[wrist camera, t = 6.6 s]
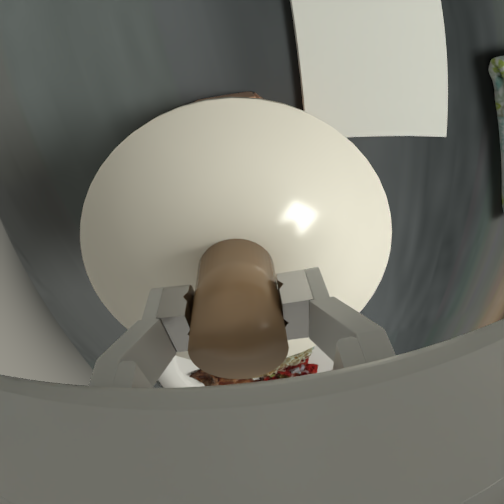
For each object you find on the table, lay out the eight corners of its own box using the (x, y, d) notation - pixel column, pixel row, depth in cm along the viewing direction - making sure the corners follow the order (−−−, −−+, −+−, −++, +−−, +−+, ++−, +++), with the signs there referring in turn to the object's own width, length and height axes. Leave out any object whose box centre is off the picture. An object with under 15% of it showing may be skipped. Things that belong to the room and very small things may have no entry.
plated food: (162, 251, 29) (155, 272, 26) (404, 300, 35) (414, 318, 33) (147, 392, 45) (145, 409, 42) (309, 410, 51) (312, 425, 48)
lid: (389, 87, 9) (479, 112, 5) (366, 333, 16) (392, 403, 12) (47, 145, 9) (-33, 200, 5) (146, 360, 16) (134, 431, 12)
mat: (436, -1, 15) (440, -2, 14) (442, 135, 23) (446, 136, 22) (286, -21, 15) (287, -23, 15) (305, 138, 23) (307, 140, 23)
